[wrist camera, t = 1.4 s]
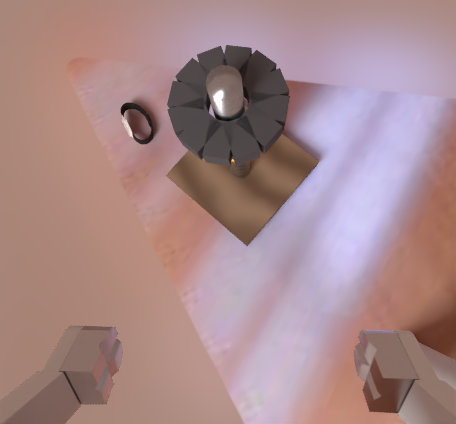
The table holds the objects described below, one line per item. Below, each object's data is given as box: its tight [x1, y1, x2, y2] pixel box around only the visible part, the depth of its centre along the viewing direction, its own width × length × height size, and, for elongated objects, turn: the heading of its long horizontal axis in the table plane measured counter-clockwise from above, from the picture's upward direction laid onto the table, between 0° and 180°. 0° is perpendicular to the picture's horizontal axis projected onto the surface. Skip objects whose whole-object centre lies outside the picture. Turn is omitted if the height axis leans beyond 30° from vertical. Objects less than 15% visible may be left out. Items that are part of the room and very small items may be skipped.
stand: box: [166, 105, 319, 246], centre depth 50 cm, size 17×17×2 cm
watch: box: [121, 103, 153, 144], centre depth 53 cm, size 8×5×4 cm, turn 31°
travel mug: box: [418, 342, 456, 390], centre depth 35 cm, size 6×7×20 cm
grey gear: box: [167, 45, 290, 166], centre depth 30 cm, size 11×11×2 cm
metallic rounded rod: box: [206, 65, 250, 178], centre depth 38 cm, size 3×3×24 cm
